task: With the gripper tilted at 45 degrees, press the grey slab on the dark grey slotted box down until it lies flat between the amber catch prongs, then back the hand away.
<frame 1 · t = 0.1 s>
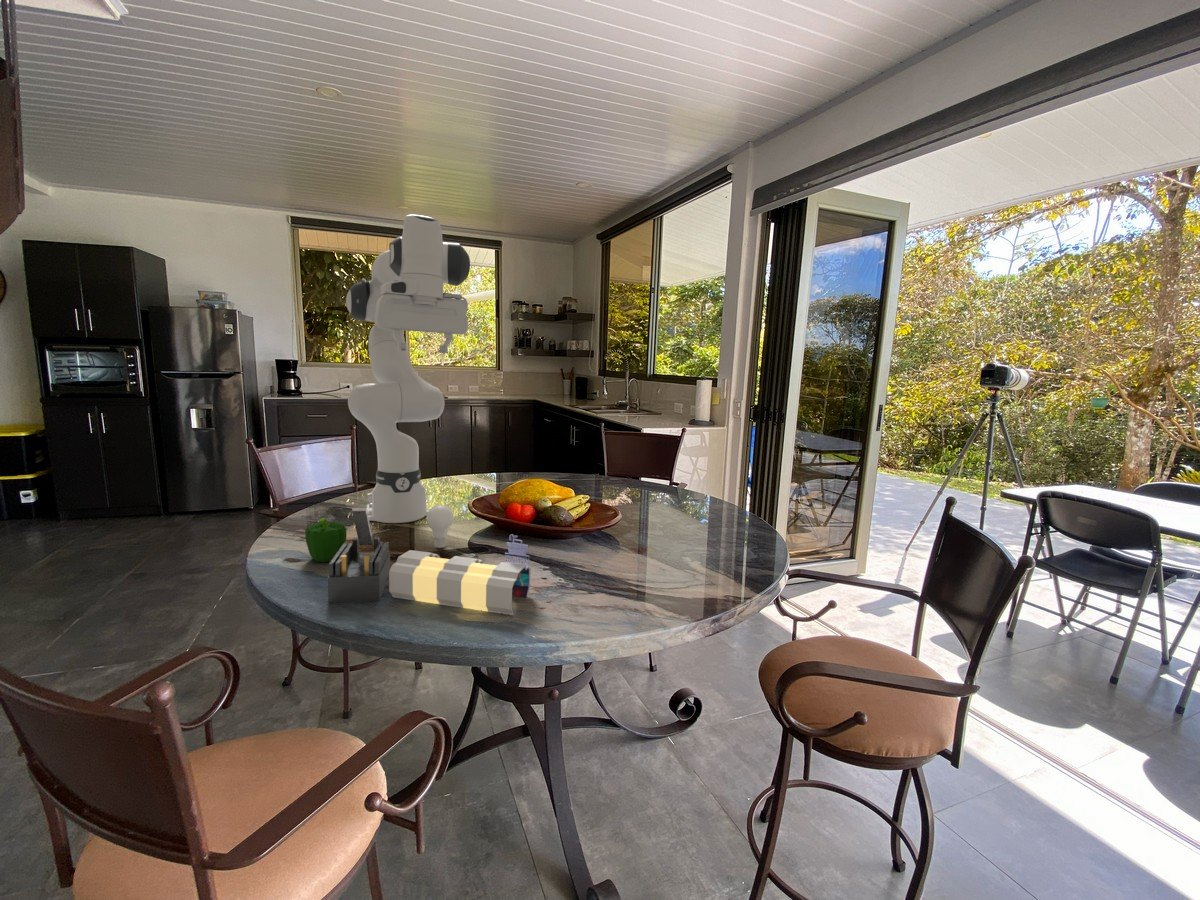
hand: (422, 352, 122), 48 cm above the table, tool pointing down, fingers open, 8 cm apart
dark grey slotted box: (361, 587, 106), on the table
lightbulb: (439, 548, 131), on the table
grey slab: (362, 527, 107), point 12 cm above the table, hinge at 55.0°
grey yellow striped block: (461, 599, 105), on the table
bell pepper: (326, 559, 121), on the table
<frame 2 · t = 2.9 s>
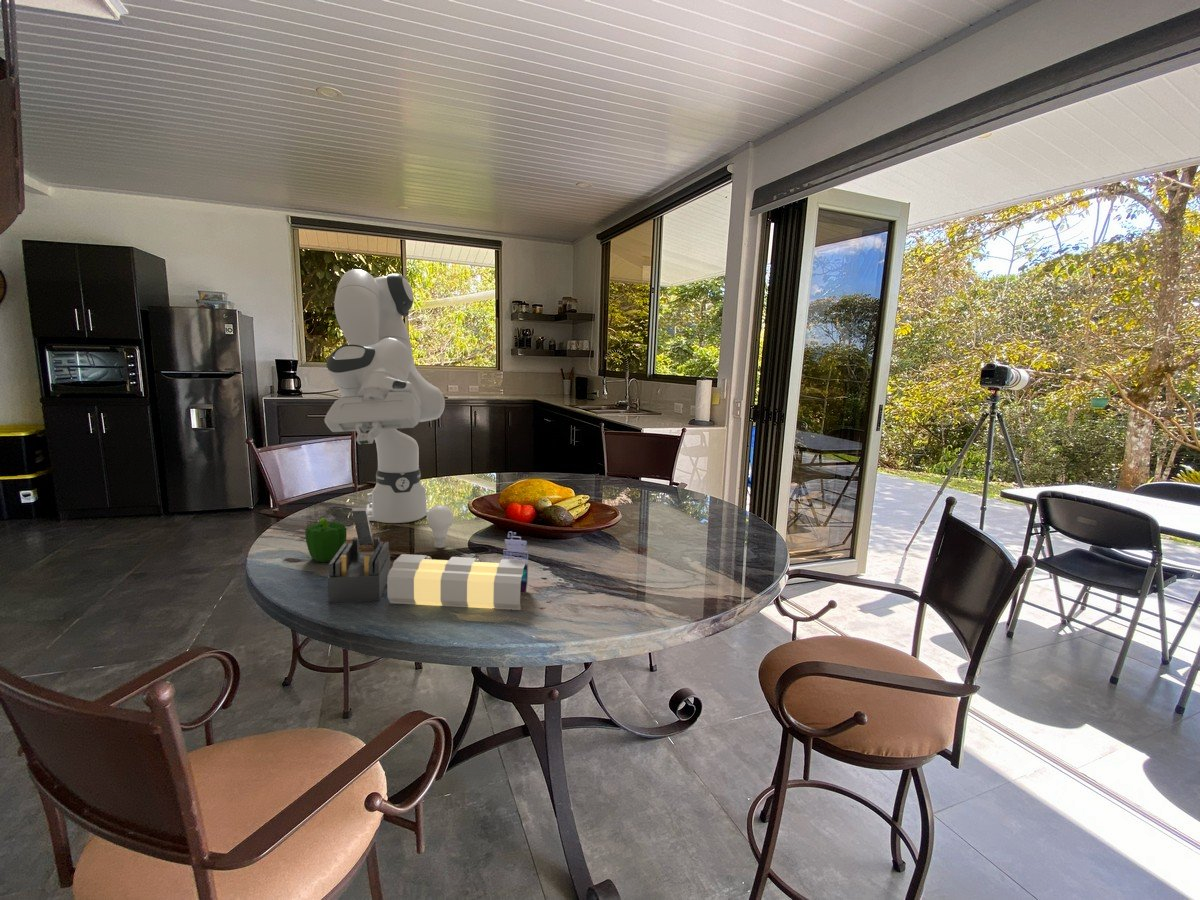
hand: (364, 442, 113), 28 cm above the table, tool tilted 45°, fingers closed
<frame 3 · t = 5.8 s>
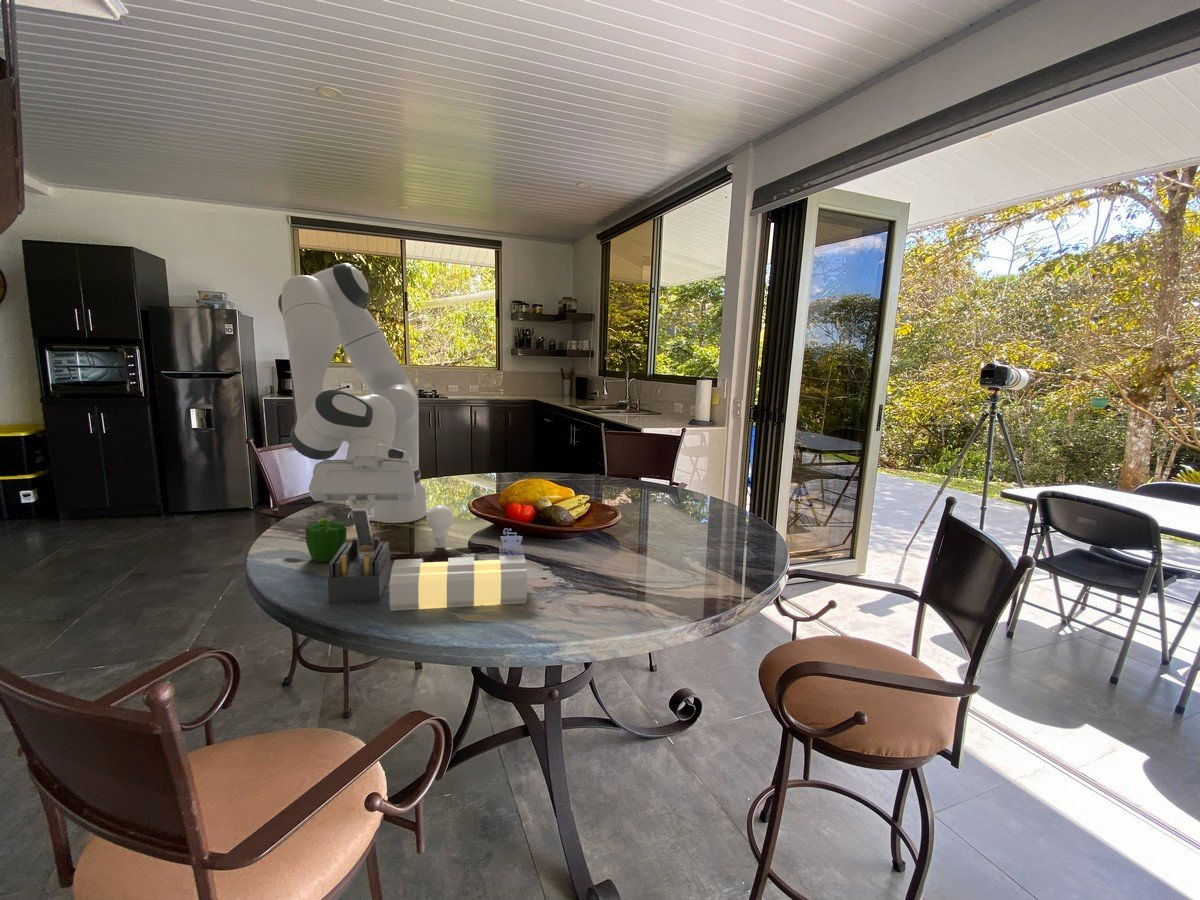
hand: (359, 517, 106), 14 cm above the table, tool tilted 45°, fingers closed, pressing on grey slab
grey slab: (362, 527, 107), point 12 cm above the table, hinge at 55.0°, touching gripper
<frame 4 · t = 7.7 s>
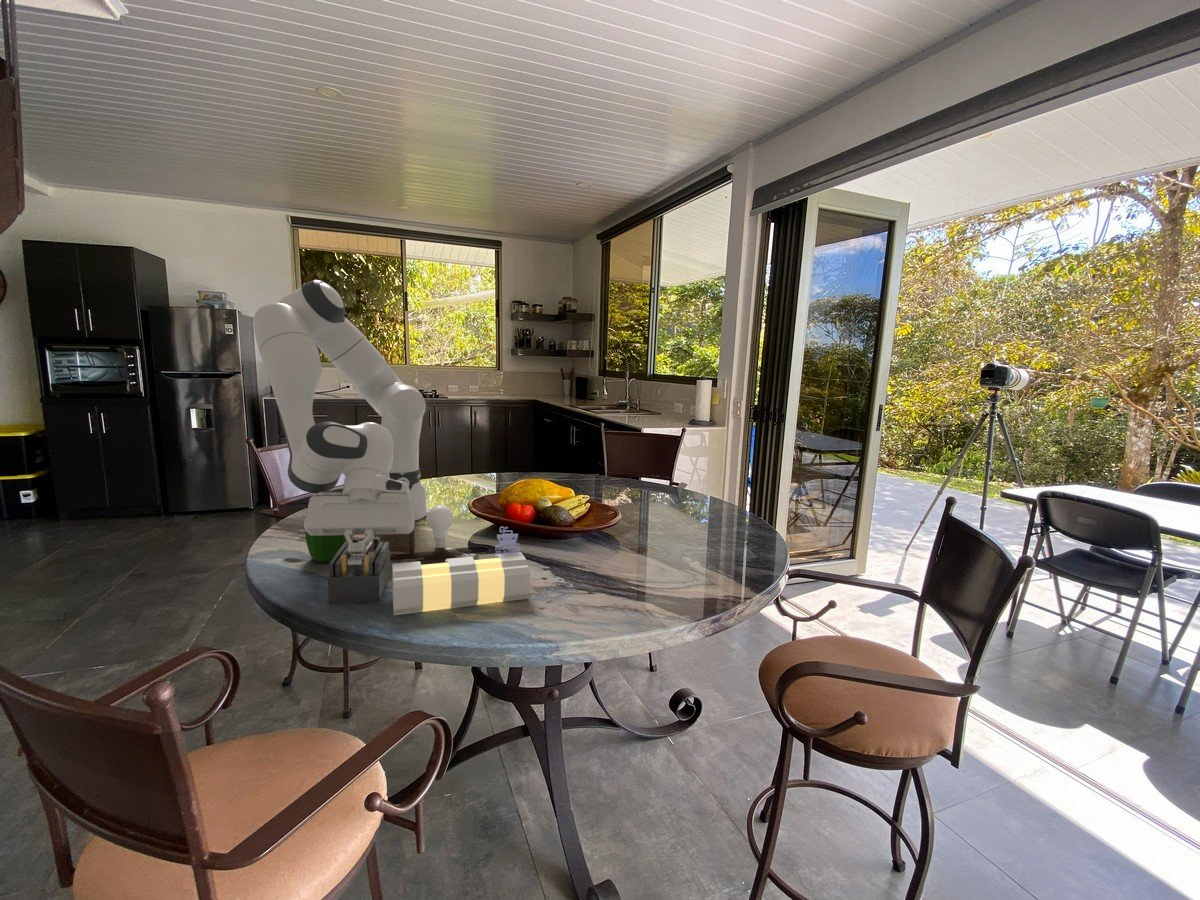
hand: (356, 553, 102), 8 cm above the table, tool tilted 45°, fingers closed, pressing on grey slab
grey slab: (361, 551, 106), point 7 cm above the table, hinge at -0.6°, touching gripper
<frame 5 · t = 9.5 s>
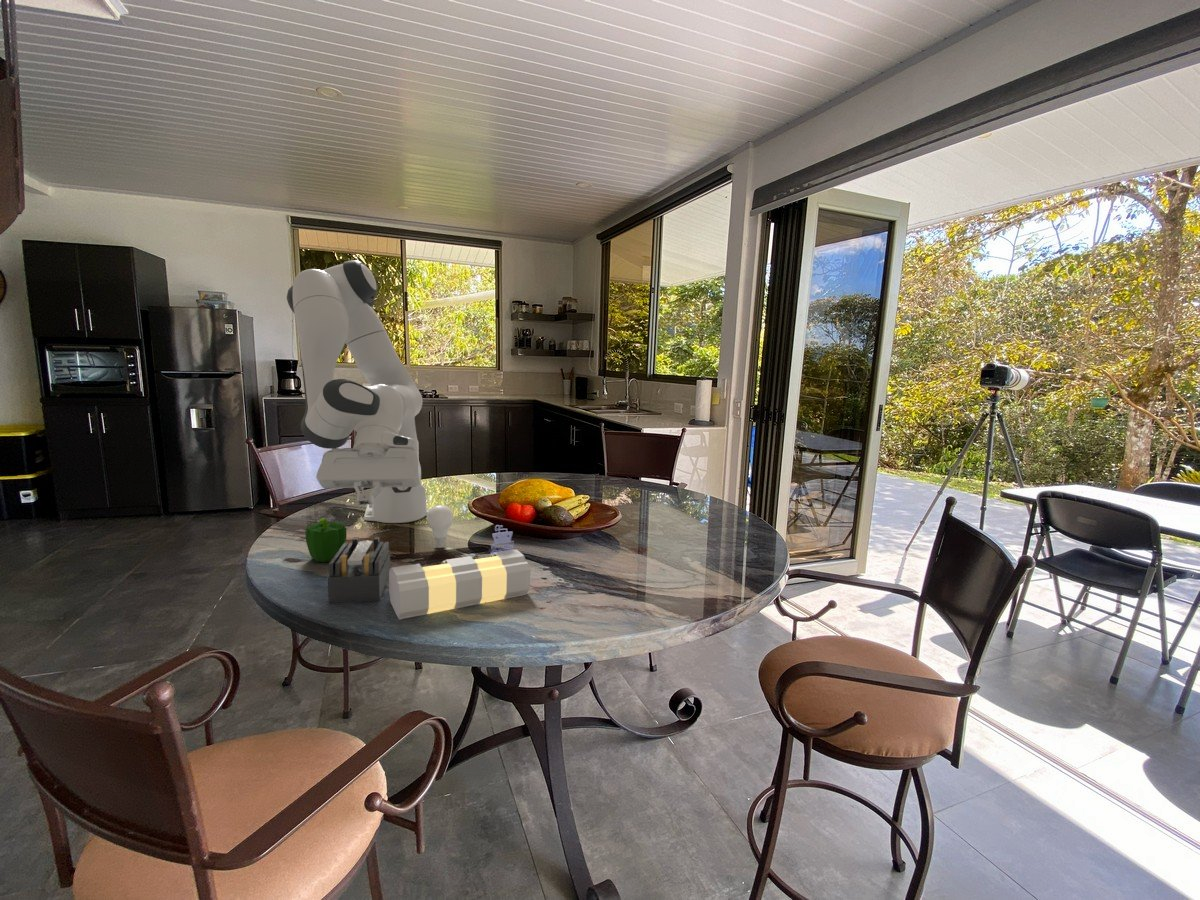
hand: (364, 503, 107), 17 cm above the table, tool tilted 45°, fingers closed
grey slab: (361, 551, 106), point 7 cm above the table, hinge at -0.7°
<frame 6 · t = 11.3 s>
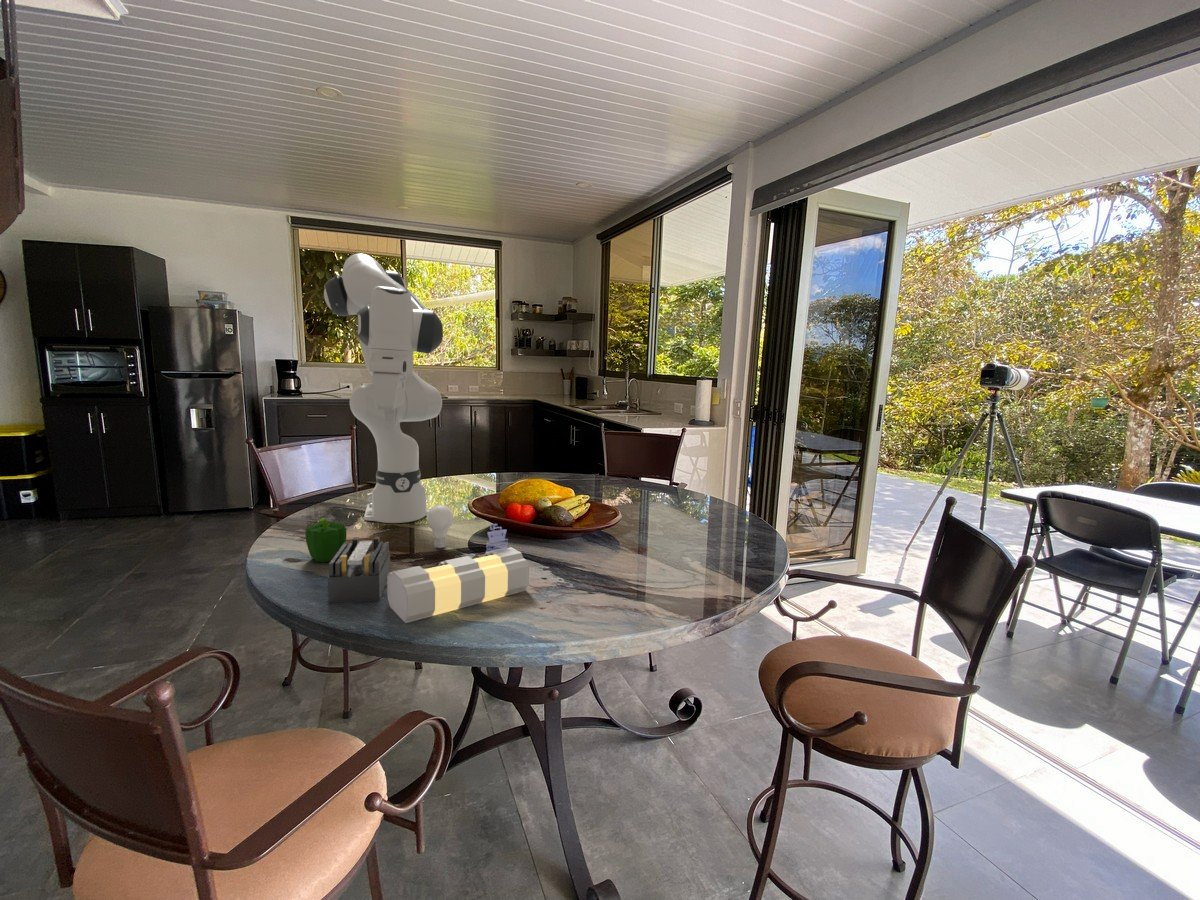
hand: (390, 427, 116), 31 cm above the table, tool pointing down, fingers closed
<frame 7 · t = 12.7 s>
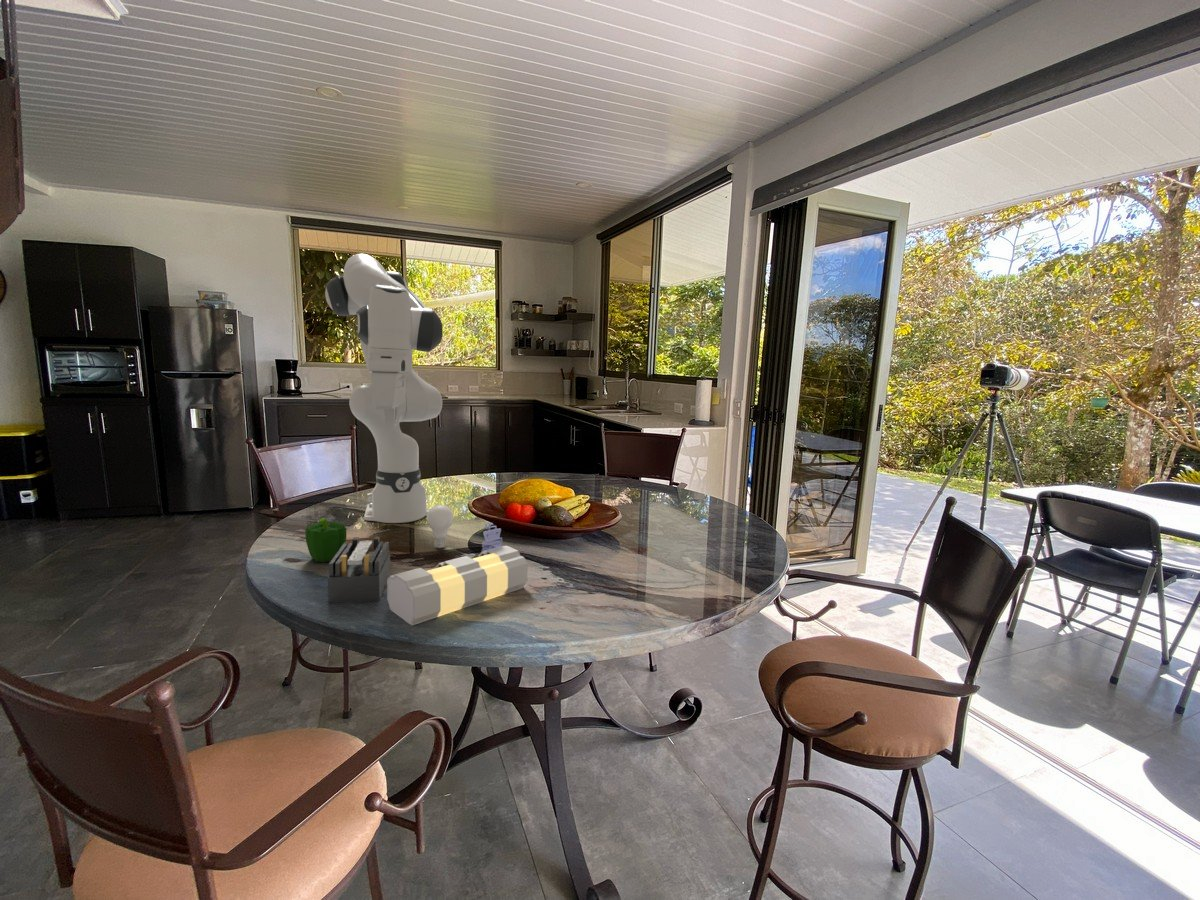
hand: (391, 426, 116), 31 cm above the table, tool pointing down, fingers closed
at the end: grey slab at -1° (first picture: +55°); grey yellow striped block moved 0.6 cm from its start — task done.
